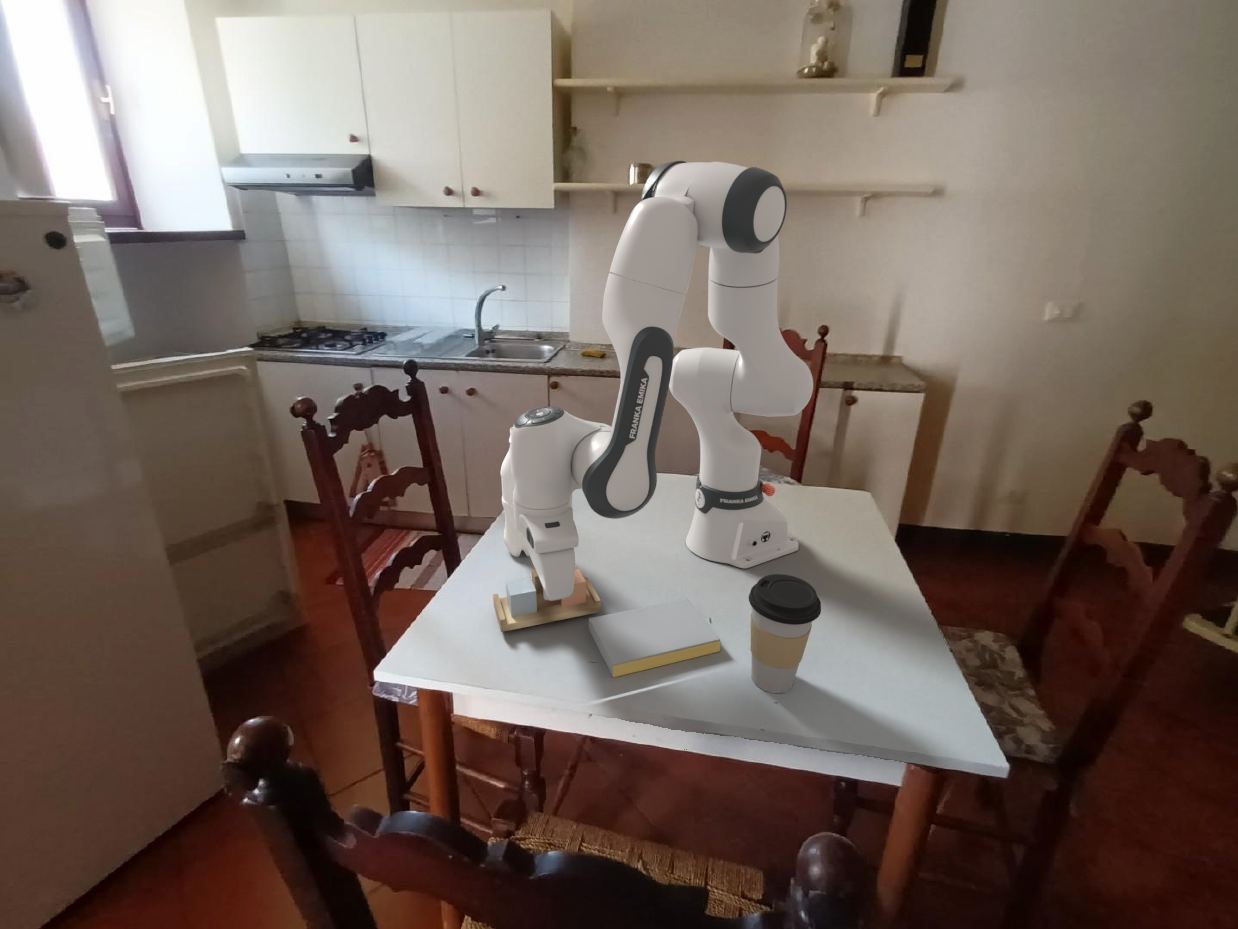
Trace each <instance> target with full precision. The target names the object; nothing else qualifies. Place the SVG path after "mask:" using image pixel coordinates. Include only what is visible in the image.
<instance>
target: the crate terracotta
mask: <svg viewBox="0 0 1238 929" xmlns="http://www.w3.org/2000/svg"><path fill="white" fill-rule="evenodd" d="M584 578H585V577H584V575H583V574H582V572H581V570H580V568H575V579H574V590H573V593H572V595H571V596H570V597H568V598H564V599H560V604H561V607H566V606H571V605H576V604H581V603H586V581H585V579H584Z"/></svg>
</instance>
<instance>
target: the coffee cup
mask: <svg viewBox="0 0 1238 929" xmlns="http://www.w3.org/2000/svg"><path fill="white" fill-rule="evenodd" d="M817 594H818V593H817V591H816V589H815V588H814V587H813V586H812V585H811V584H810V583H809V582H807V581H806V580H803V579H802V578H799V577H796V576H793V575H788V574H784V573H783V574H781V573H780V574H779V573H776V574H775V573H774V574H768V575H764V576H763V577H761V578H760V579H758V581H757V582H756V583H755V584H754V585H753V586H752V587H751V589H750V592H749V595H748V602H749V604H750V606H751V614H750V652H751V668H750V669H751V670H750V672H751V673H750V676H751V680H752V683H754V684H755V686H756V687H758V688H759V689H762V690H763V691H765V692H769V693H771V694H784V693H788V691H790V690H791V688H792V687H793V684H794V681H795V678H796V675H797V673H798V668H799V665H800V663H801V662H802V660H803V656H804V653H805V649H806V648H807V643H808V641H809V636H810V634H811V631H812V623H813V622H814V621H815V620H816V619H818V618H819V616H820V615H821V613H822V606H821V605H822V604H821V600H820V598H819V596H818V595H817Z"/></svg>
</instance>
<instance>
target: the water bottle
mask: <svg viewBox="0 0 1238 929" xmlns="http://www.w3.org/2000/svg"><path fill="white" fill-rule="evenodd" d="M512 429H513V426H512V427H510V428H509V434H510V435H509V439H508V443H509V449H508V450H507V453H506V456H504V459H503V461H502V464H501V468H500V475H499V476H500V477H501V478H500V480H501V492H502V494H501V495H502V496H501V505H502V508H503V511H504V518H505V520H504V522H505V523H504V531H503V542H504V545H505V547H506V549H507V551H508V552H509V553H510V555H511V556H513V557H516V558H517V557H518V558H519V557H520V556H521V553H522V551H523V553H525V555H526V557H530V555H529V553H528V550H527V548H526V546H525V543H524V541H523V538H522V533H520V532H518V531H517V530H516V528H515V526H514V512H513V491H514V487H515V482H514V478H513V475H512V472H511V435H512Z"/></svg>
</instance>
